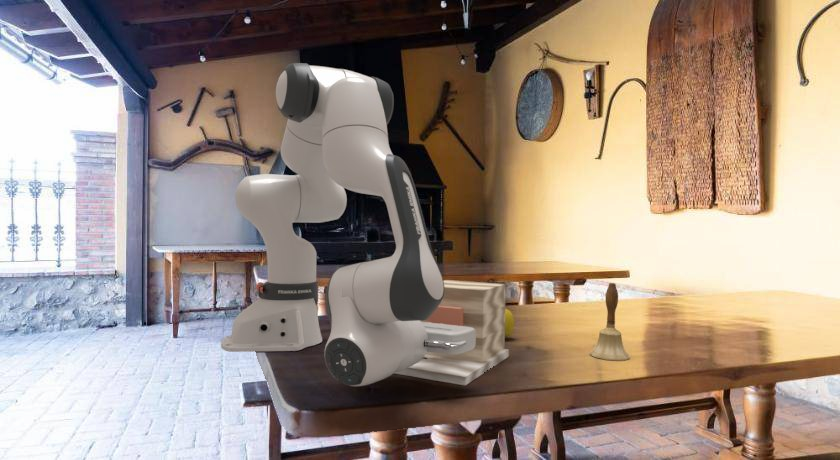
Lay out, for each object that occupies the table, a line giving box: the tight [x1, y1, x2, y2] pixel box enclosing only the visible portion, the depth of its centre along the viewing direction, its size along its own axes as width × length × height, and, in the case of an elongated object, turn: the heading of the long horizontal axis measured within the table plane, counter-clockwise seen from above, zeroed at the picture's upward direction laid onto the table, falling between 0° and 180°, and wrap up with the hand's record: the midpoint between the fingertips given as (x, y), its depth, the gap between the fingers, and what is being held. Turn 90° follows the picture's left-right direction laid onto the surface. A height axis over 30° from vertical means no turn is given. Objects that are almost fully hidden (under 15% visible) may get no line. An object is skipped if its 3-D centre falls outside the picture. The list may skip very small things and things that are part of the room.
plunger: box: [427, 306, 463, 326], centre depth 107 cm, size 12×7×7 cm, turn 152°
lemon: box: [505, 307, 515, 338], centre depth 129 cm, size 6×6×8 cm
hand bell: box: [589, 282, 631, 362], centre depth 114 cm, size 8×8×16 cm
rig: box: [393, 279, 510, 386], centre depth 106 cm, size 24×16×16 cm
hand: (437, 327), depth 99 cm, fingers closed
